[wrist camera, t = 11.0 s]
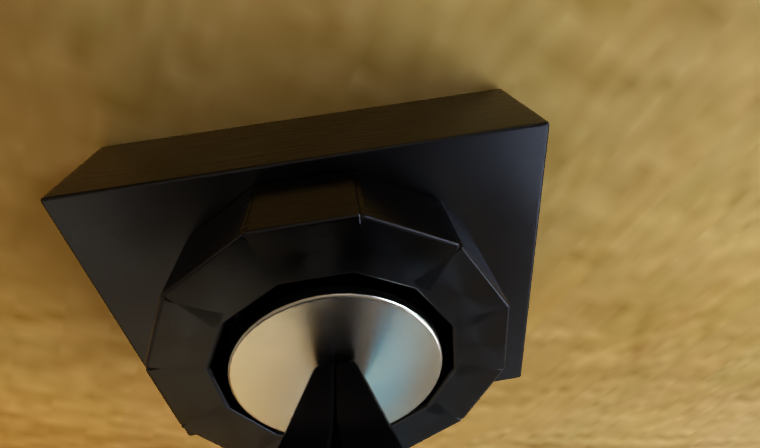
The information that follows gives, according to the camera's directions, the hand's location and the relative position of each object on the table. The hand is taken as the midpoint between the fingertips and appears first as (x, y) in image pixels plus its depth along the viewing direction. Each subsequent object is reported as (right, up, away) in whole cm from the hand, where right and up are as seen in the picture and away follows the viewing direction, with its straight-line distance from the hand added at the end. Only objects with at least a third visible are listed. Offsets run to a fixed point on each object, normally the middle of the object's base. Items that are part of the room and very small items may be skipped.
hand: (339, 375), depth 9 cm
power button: (0, +1, +1) cm, 2 cm away
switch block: (-1, +2, +4) cm, 5 cm away
